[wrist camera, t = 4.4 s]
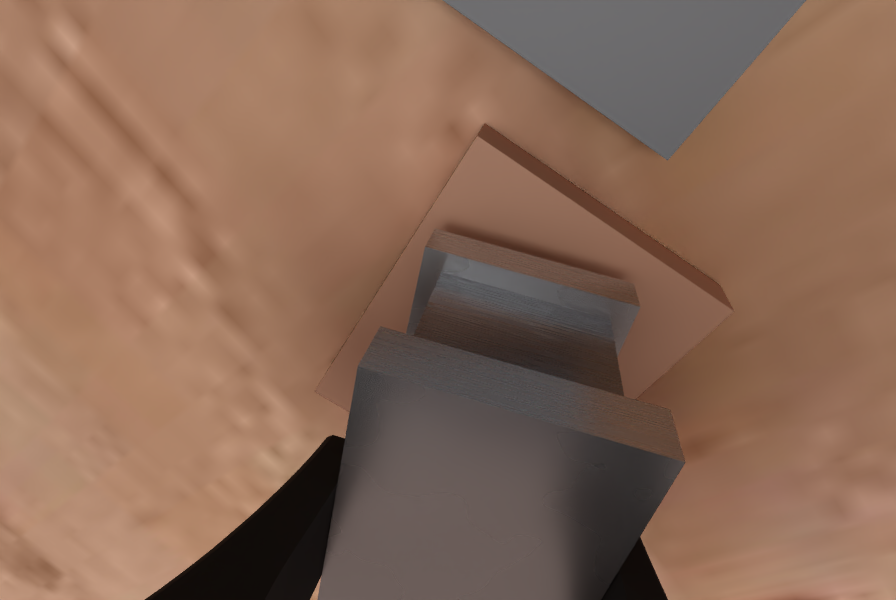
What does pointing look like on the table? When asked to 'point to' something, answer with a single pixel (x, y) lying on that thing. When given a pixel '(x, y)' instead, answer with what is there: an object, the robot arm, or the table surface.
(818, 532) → the table surface
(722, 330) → the table surface
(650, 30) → the stand
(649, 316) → the stand
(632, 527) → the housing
